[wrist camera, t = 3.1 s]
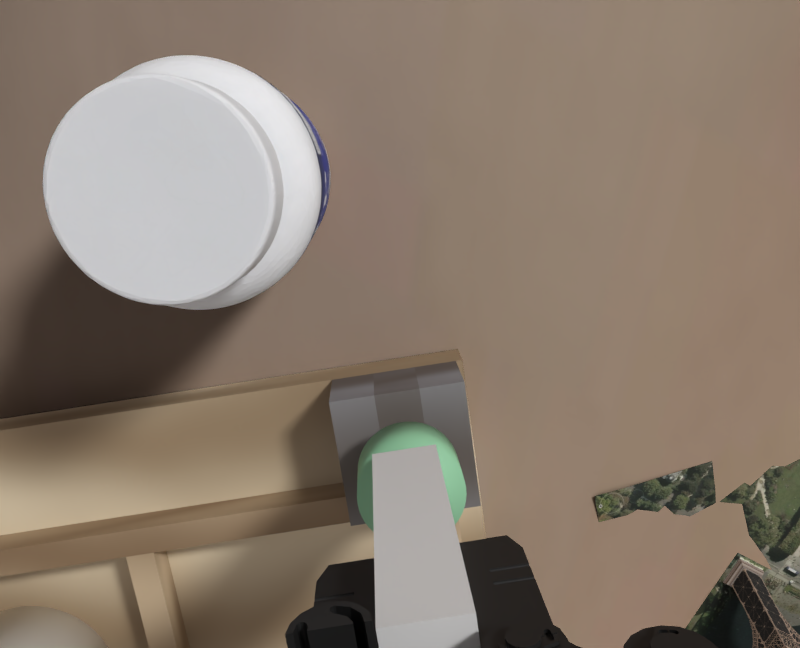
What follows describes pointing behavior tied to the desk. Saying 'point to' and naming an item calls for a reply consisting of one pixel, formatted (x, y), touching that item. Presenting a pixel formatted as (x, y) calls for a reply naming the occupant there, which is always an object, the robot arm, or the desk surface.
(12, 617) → the seated billet
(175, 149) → the pill bottle
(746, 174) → the desk surface
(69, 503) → the wooden compartment tray
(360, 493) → the button
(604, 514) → the eiffel tower figurine
